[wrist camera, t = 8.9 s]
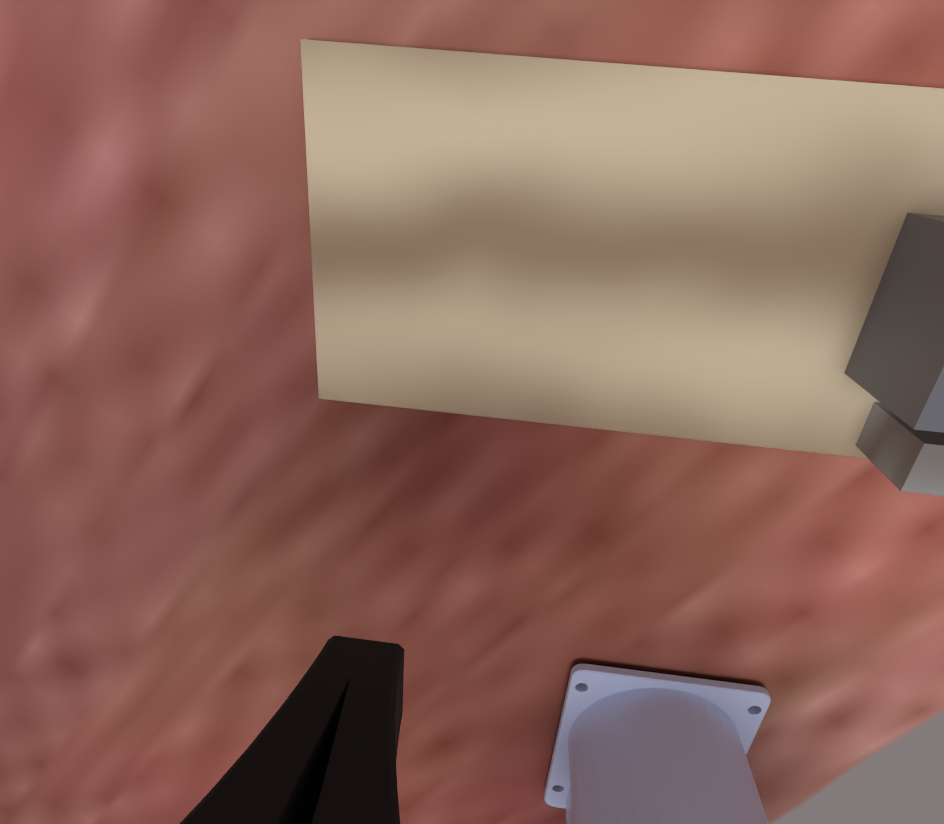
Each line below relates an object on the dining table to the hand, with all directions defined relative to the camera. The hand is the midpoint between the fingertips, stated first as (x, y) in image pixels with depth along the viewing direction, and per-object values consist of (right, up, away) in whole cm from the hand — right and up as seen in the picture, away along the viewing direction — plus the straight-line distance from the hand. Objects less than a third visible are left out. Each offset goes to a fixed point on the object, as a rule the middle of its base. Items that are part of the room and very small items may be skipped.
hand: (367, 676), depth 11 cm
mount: (+14, +8, +5) cm, 17 cm away
